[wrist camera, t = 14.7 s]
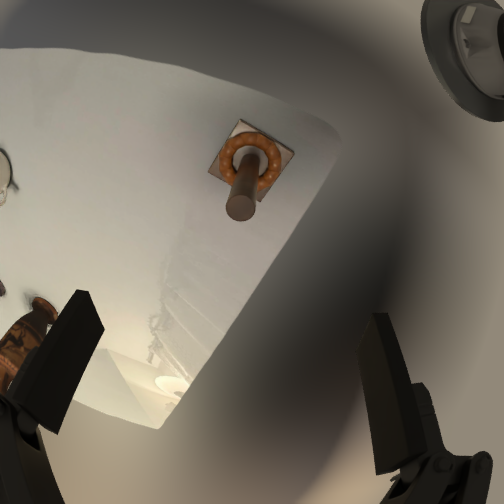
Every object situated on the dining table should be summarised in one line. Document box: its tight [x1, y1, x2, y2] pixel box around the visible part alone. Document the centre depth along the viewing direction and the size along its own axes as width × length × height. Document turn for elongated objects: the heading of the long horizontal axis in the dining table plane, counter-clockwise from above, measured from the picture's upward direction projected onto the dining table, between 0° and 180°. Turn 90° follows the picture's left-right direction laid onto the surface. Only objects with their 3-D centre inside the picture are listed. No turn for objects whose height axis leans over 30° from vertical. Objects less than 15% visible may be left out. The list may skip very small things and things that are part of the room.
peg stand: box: [208, 119, 294, 221], centre depth 29 cm, size 8×8×15 cm
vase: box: [0, 298, 58, 396], centre depth 43 cm, size 11×11×30 cm
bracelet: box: [219, 133, 282, 192], centre depth 34 cm, size 8×8×2 cm
